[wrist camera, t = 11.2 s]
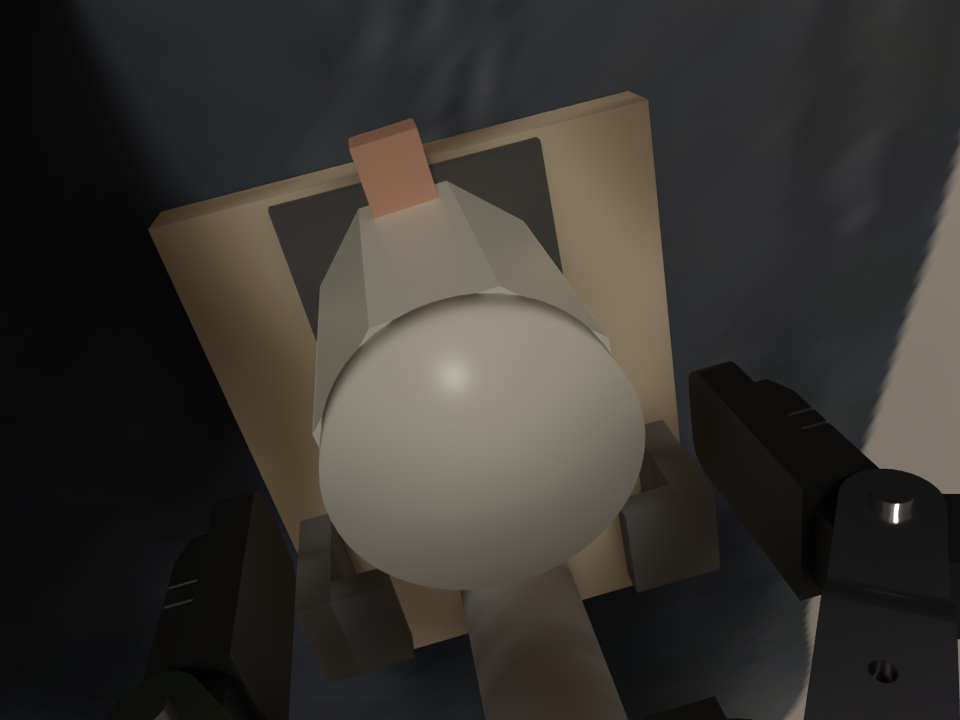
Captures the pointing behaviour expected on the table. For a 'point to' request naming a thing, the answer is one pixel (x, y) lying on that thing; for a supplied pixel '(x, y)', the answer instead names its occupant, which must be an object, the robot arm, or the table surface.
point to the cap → (461, 387)
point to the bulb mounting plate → (295, 454)
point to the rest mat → (486, 174)
